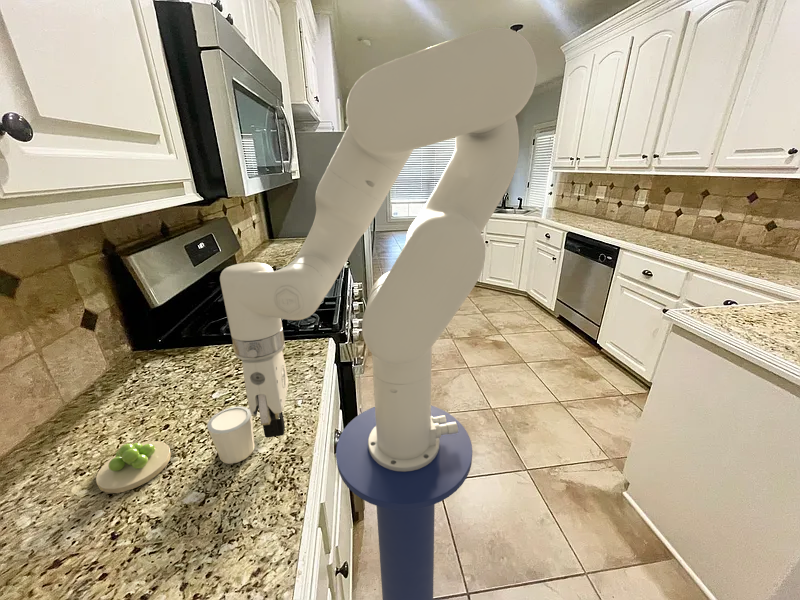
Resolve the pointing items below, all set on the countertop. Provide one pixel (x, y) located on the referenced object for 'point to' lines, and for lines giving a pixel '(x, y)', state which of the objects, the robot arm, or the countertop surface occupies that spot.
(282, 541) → the countertop surface
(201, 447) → the countertop surface
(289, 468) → the countertop surface
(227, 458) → the white ramekin
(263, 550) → the countertop surface
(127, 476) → the grape dish
